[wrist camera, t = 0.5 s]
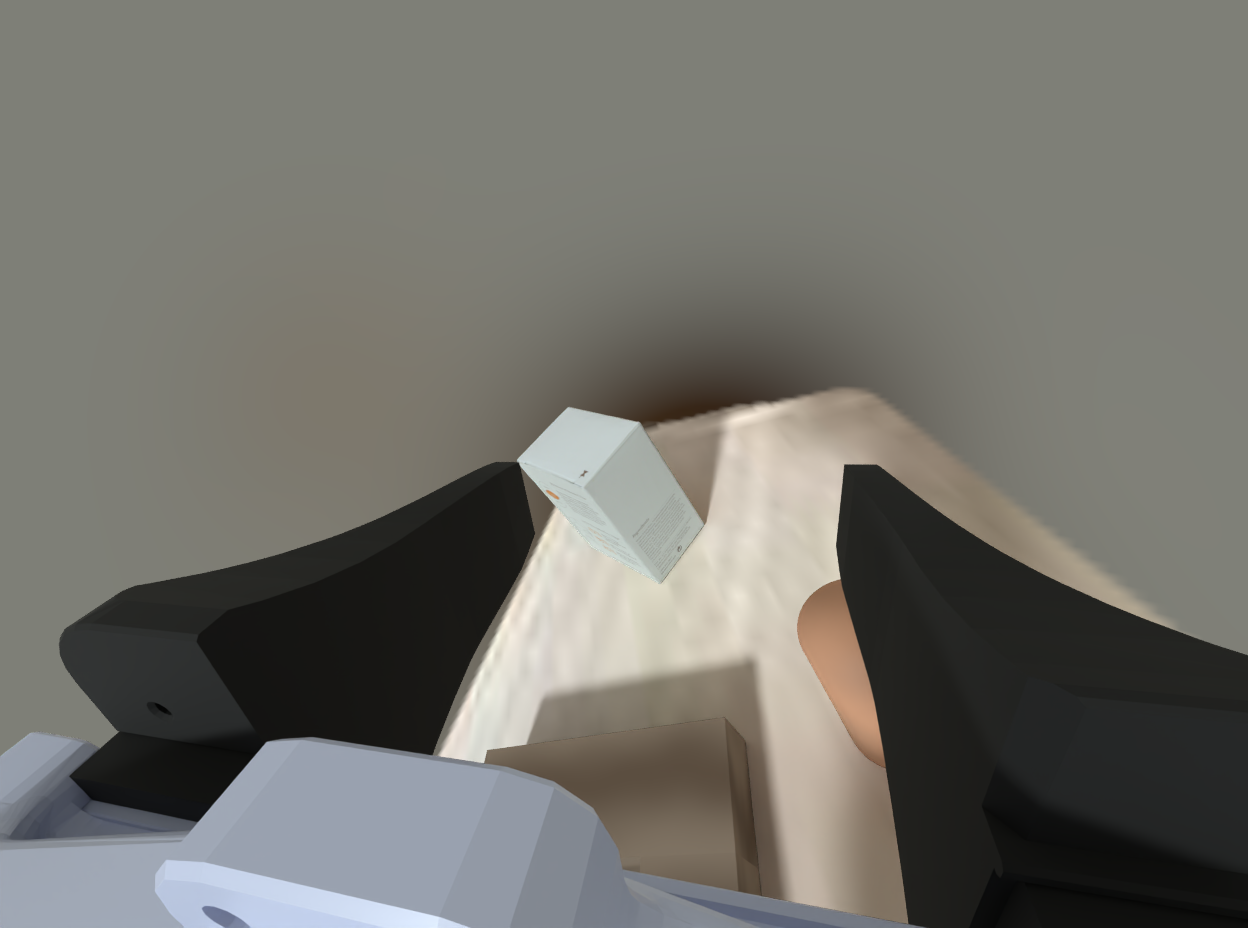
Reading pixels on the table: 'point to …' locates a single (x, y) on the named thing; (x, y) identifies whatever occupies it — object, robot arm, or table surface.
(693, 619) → the table surface
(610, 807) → the socket block
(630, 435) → the small box
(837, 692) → the peg
